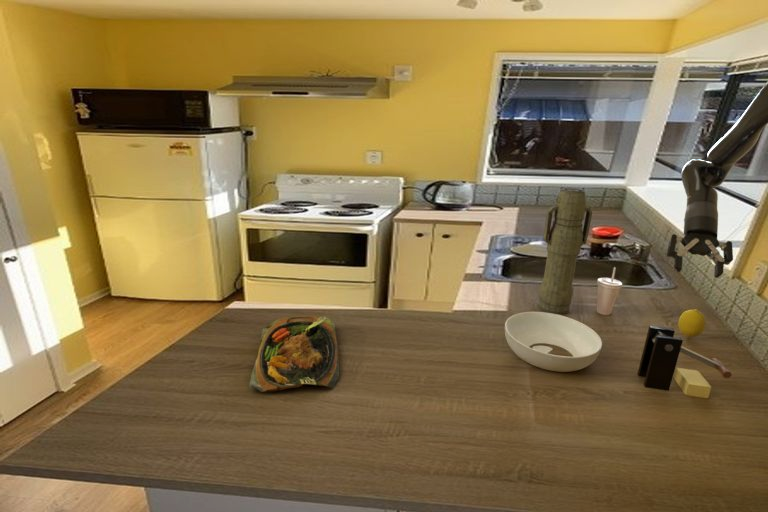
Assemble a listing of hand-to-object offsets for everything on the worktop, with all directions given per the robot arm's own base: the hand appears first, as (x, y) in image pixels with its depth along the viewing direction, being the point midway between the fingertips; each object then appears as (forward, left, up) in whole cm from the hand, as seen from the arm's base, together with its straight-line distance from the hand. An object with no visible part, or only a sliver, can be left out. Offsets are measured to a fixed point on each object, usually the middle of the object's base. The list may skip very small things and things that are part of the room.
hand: (698, 273), depth 113 cm
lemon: (+2, +8, -15) cm, 17 cm away
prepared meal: (+95, +44, -15) cm, 106 cm away
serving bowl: (+39, +29, -15) cm, 51 cm away
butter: (+12, +35, -15) cm, 40 cm away
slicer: (+19, +35, -15) cm, 43 cm away
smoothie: (+20, -2, -15) cm, 25 cm away
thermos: (+34, -1, -15) cm, 37 cm away
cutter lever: (+14, +35, -7) cm, 39 cm away
